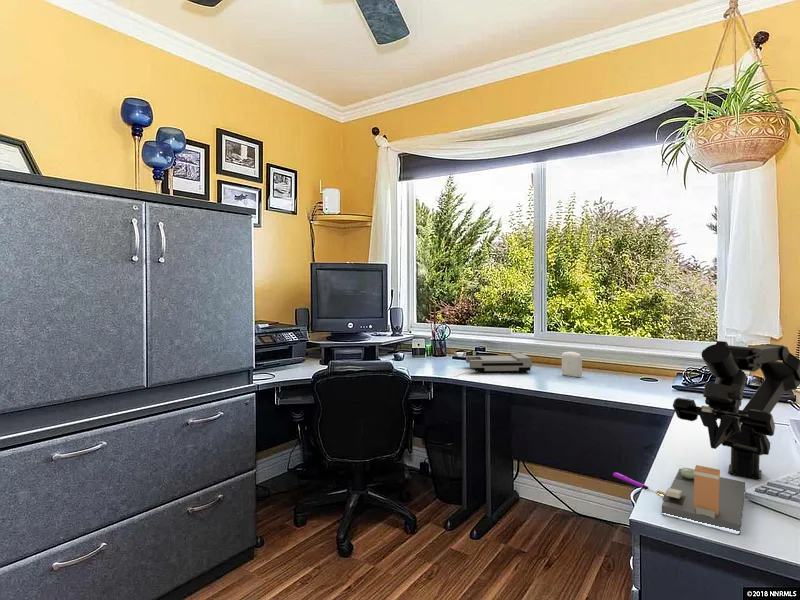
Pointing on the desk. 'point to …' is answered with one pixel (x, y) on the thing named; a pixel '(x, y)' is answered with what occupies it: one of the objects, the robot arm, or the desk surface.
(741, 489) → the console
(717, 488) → the fader knob
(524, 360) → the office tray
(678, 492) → the block
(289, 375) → the desk surface
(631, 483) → the purple screwdriver
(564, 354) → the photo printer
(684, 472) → the push button
